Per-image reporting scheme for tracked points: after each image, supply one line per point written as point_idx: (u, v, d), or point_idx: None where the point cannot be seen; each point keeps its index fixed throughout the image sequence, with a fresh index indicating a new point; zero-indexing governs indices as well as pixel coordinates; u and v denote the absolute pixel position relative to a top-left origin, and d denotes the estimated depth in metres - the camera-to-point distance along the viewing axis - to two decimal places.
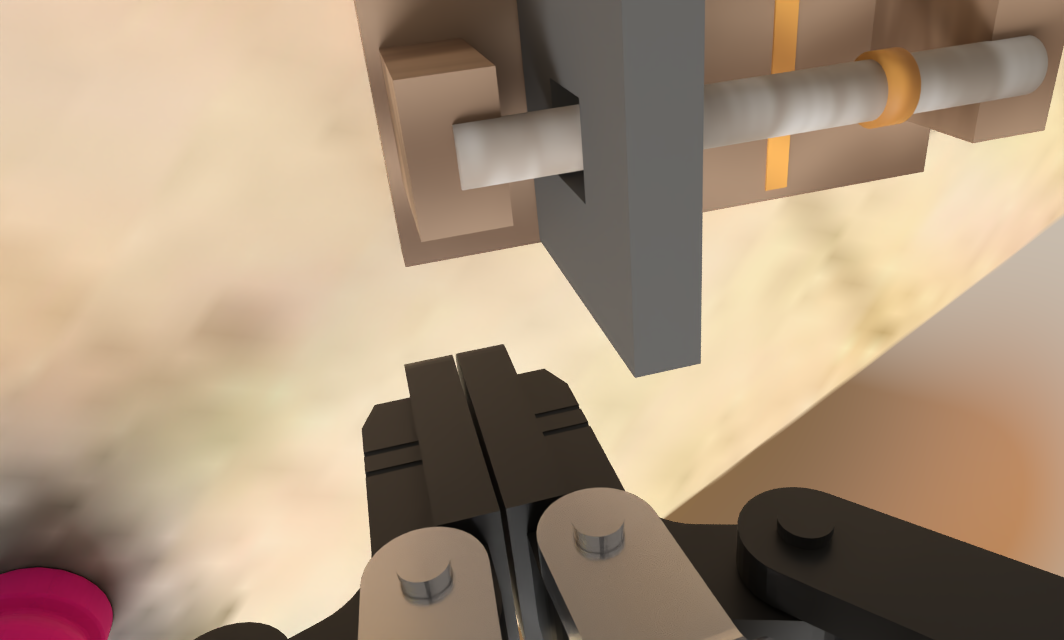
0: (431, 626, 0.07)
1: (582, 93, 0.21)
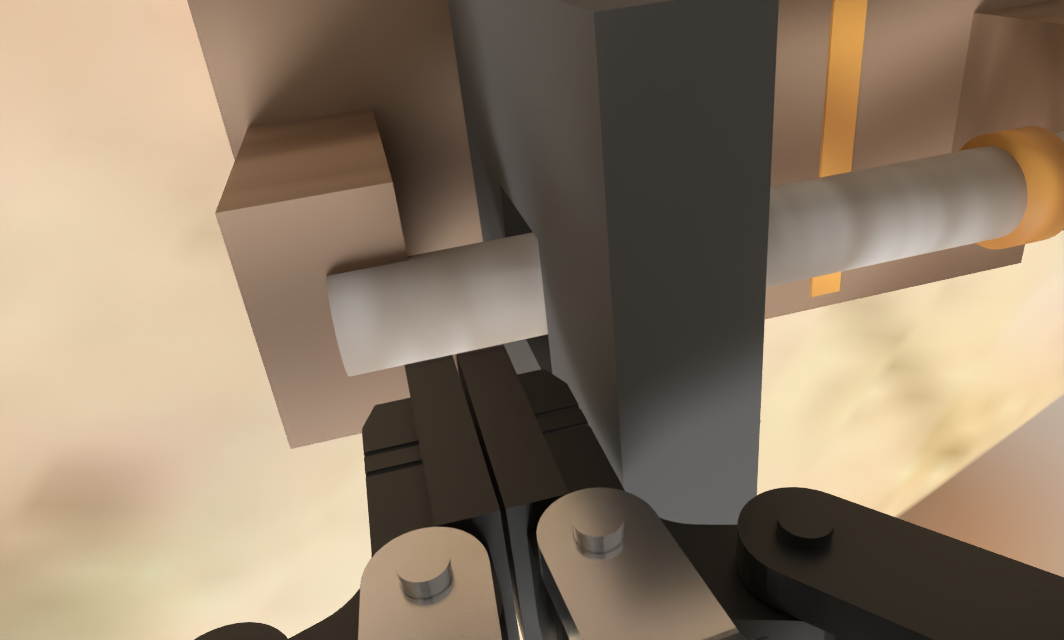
0: (431, 626, 0.07)
1: (542, 236, 0.12)
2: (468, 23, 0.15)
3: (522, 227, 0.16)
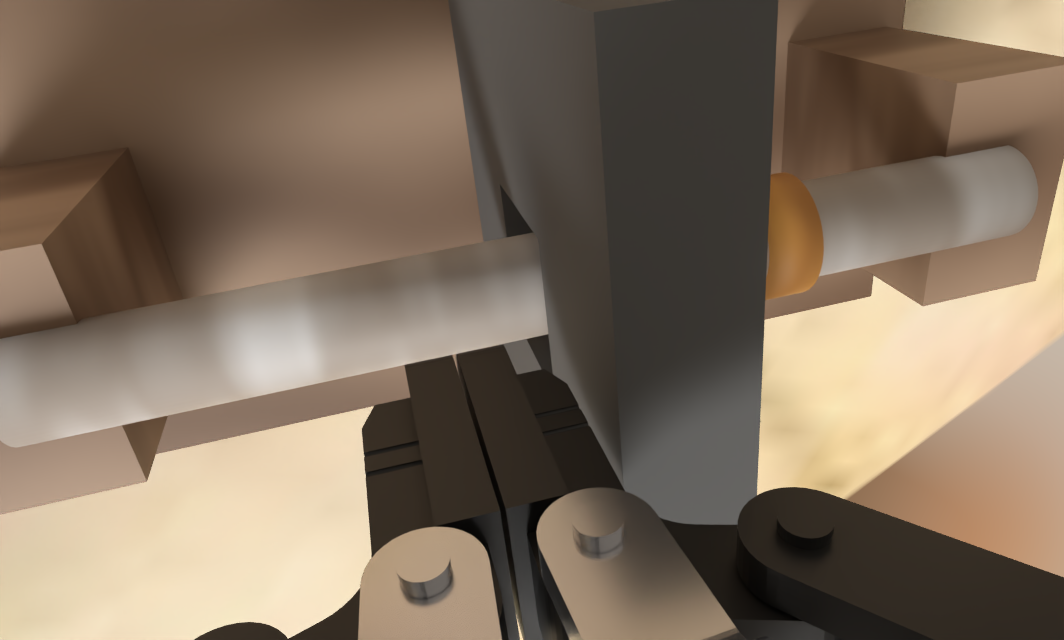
0: (430, 627, 0.07)
1: (542, 236, 0.12)
2: (469, 23, 0.15)
3: (522, 227, 0.16)
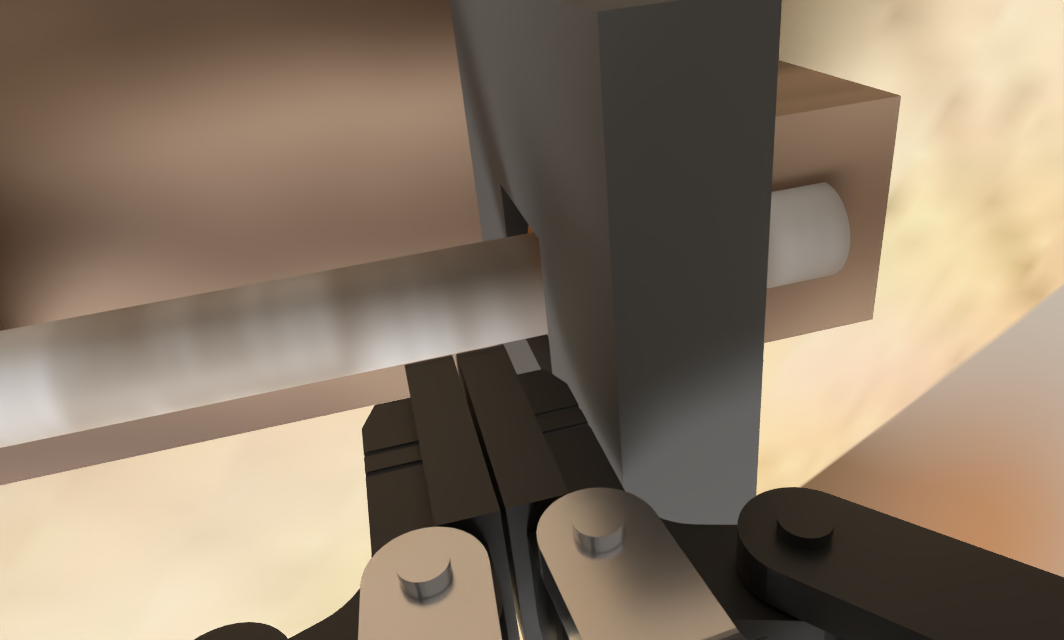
0: (431, 628, 0.07)
1: (543, 236, 0.12)
2: (470, 23, 0.15)
3: (523, 227, 0.16)
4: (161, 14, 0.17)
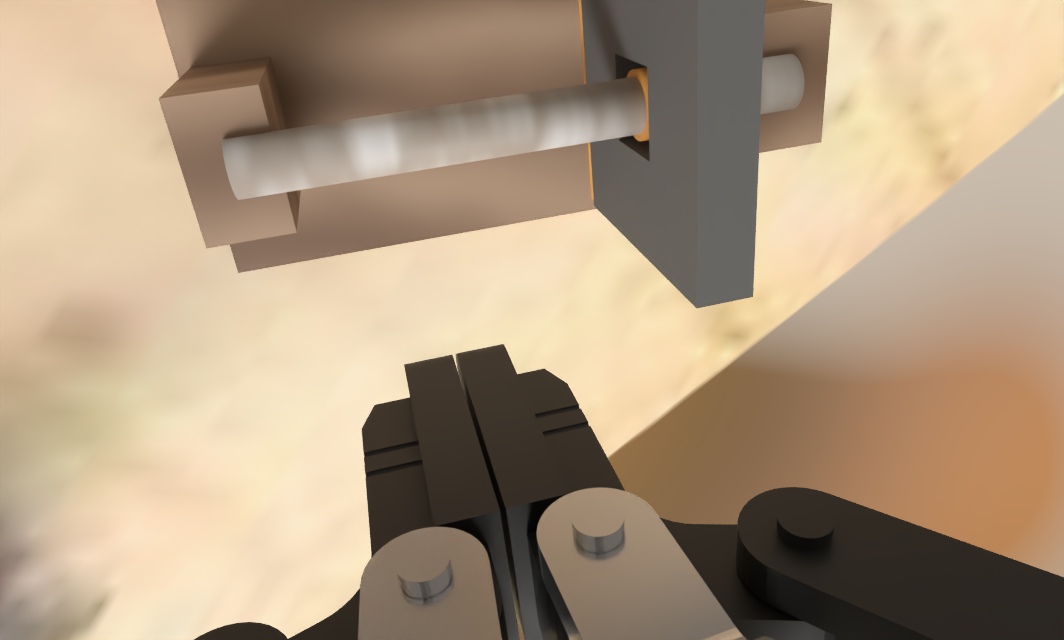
0: (430, 626, 0.07)
1: (651, 62, 0.25)
2: None
3: None
4: None
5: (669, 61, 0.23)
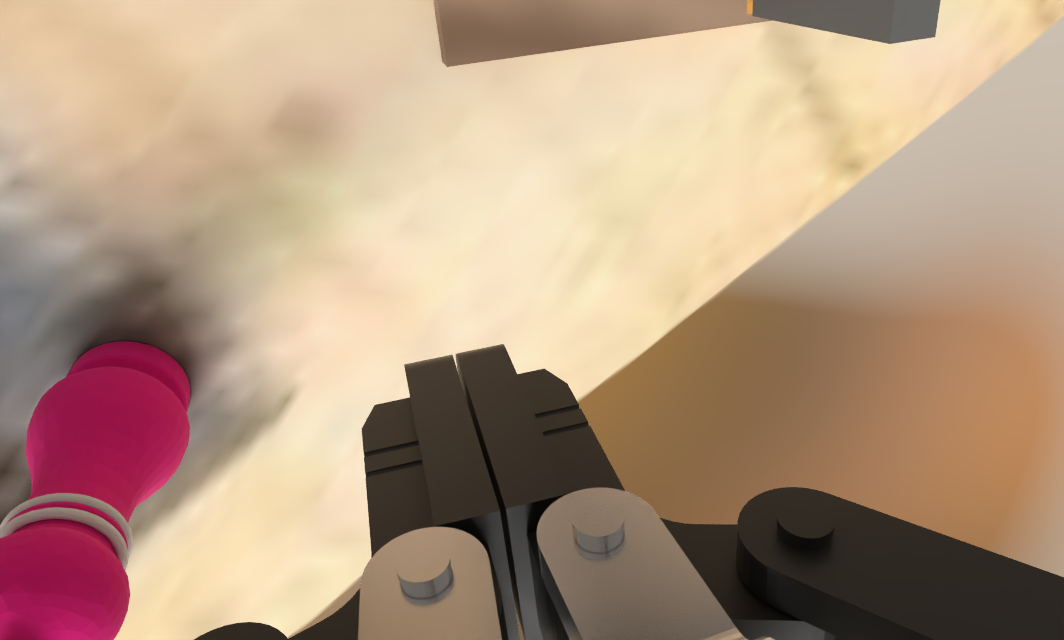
0: (431, 627, 0.07)
1: None
2: None
3: None
4: None
5: None
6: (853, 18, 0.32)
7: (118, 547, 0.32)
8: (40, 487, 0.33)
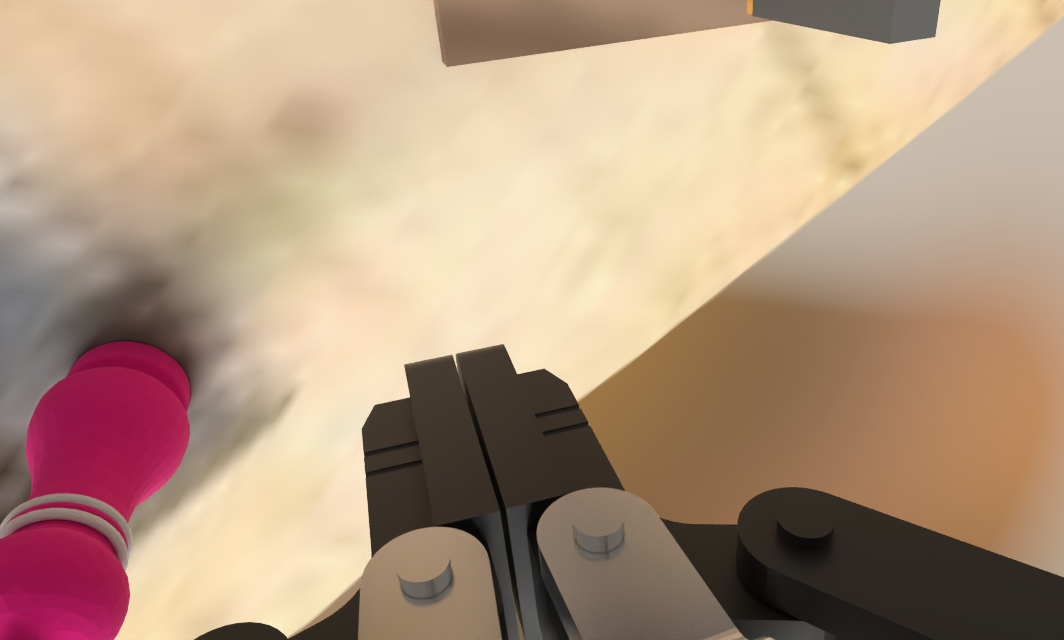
0: (430, 626, 0.07)
1: None
2: None
3: None
4: None
5: None
6: (853, 18, 0.32)
7: (118, 547, 0.32)
8: (40, 487, 0.33)
